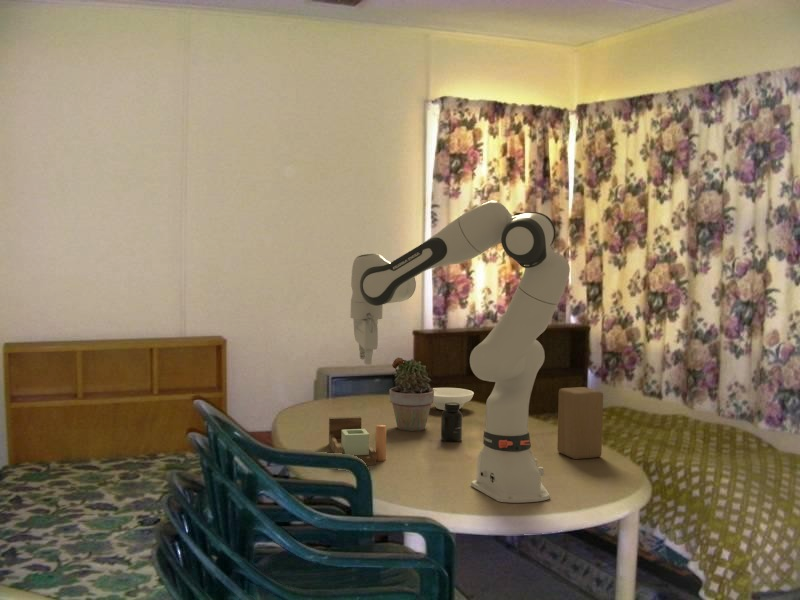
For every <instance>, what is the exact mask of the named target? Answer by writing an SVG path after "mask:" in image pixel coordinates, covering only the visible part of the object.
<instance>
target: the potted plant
mask: <svg viewBox="0 0 800 600" xmlns="http://www.w3.org/2000/svg"><path fill="white" fill-rule="evenodd" d="M421 363H422V361H420V360H419V361H417V360H415V359H414V358H411V359H409V360H406V359H404V358H403V357H397V358H395V359H393V363H391V364H392V368H393V369H395V371H394V372H392V374H393V373H396V374H395V375H394V377H395V379H394V380H393V381H392V382H394V383H391V384H392V385H393V384H395V386H394V387H392V388H390V389H385V391H386V390H387V391H388V390H389V391H388V392H389V401H390V403H391V404H392V409H393V412H394V418H395V422H396V426H397V429H399V430H400V431H409V432H416V431H423V430H425V429H426V427H427V423H428V418H429V416H430V415H429V414H430V411H431V406H432V404H433V399H434V390H433V388H434V387H432V386H431V384H432V383H430V382H433V383H435V381H434V380H432V379H431V378H430V377H428V375H429V376H433V375H431V374H429V373H428V372H427V371H426V368H427V366H426V365H422V364H421ZM397 368H398V369H397ZM429 383H430V384H429ZM432 385H433V384H432ZM435 391H436V390H435Z"/></svg>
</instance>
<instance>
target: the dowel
mask: <svg viewBox="0 0 800 600" xmlns="http://www.w3.org/2000/svg"><path fill="white" fill-rule="evenodd" d="M375 452H376V462H378V461H379V462H385V461H386V460H387V425H385V424H377V425H376V426H375Z"/></svg>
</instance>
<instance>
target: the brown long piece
mask: <svg viewBox="0 0 800 600" xmlns="http://www.w3.org/2000/svg"><path fill="white" fill-rule="evenodd" d="M347 429H362V417H361V415H360V416H337V417H335V416H334V417H328V445H329V447H330V449H331V451H332V452H335V453H342V454H344V452H343V450H342V449H341V437H342V430H347ZM354 456H357V457H358V458H360V459H362V460H363V461H364V462H365V463H366V464H367V465H366V466H374V465H376V464H377V460H376V450H374V448H373V447H372V446H371V444H370V443H369V455H354Z"/></svg>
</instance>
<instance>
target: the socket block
mask: <svg viewBox="0 0 800 600" xmlns="http://www.w3.org/2000/svg"><path fill="white" fill-rule="evenodd" d="M369 444H370V433H369V432H368V431H367V430H366V428H361V429H347V430H342V437H341V449H342V450H343V452H344V454H350V455H369Z"/></svg>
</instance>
